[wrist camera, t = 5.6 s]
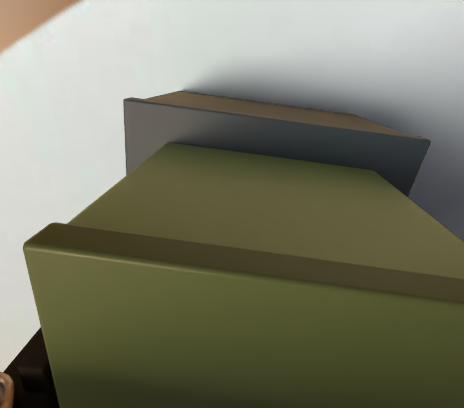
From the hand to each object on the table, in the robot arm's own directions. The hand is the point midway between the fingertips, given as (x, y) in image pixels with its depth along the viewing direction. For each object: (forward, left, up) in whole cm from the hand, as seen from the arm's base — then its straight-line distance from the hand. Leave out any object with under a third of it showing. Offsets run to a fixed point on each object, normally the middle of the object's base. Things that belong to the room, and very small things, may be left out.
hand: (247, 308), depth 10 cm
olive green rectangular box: (0, 0, -1) cm, 1 cm away
